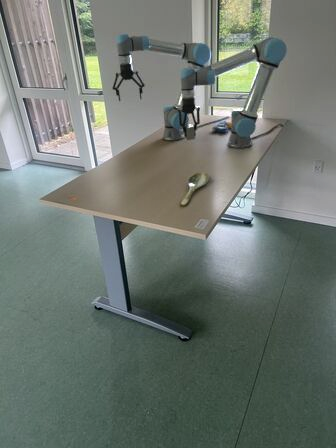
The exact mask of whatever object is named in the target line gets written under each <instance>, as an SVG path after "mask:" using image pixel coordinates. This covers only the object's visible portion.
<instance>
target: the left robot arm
mask: <svg viewBox="0 0 336 448" xmlns="http://www.w3.org/2000/svg"><path fill="white" fill-rule="evenodd" d="M115 40H116V48H117V55H118V56H117V57H118V63H119V70H120V71H119V72H115V79H114V82H113V85H112V90H115V94H116V97H117V96H118V101H119V102H121V93H120V90H119V88H120V87H121V85H122V83H123V82H124V81H131V80H132V81H133V83H135V84H136V86H138V87H139V88H138V91H139V98H140V99H139V100H142V94H143V93H144V92H143V88H145V87H146V84H145V83H144V81H143V79H142V77H141V76H140V74H139V71H138V70H136V71H134V69H133V63H132V61H133V60H132V54H131V52H146V53H152V54H158V55H164V56H170V57H171V56H172V57H178V58H179V59H180V60H185V61H187V62H186V64H187V68H193V69H194V72H198V70H199V69H200V68H202V67H206V64H208V63H209V62H210V61H211V58H212V51H211V48H210V46H208V45H207V44H206V43H202V42H181V43H177V42H172V41H165V40H160V39H154V38H149V36H148V35H140V36H139V35H138V36H136V35H132V36H129V33H121V34H117V35H116V36H115ZM134 75H135V76H136V77H137V79H138V80H139V81H138V80H137V79H136V78H135V77H134ZM119 77H121V79H120V80H119V81H118V79H119ZM117 82H118V84H117ZM116 85H117V86H116ZM196 87H197V86H194V91H195V90H196ZM182 98H183V97H182V88H180V91H179V94H178V97H177V101H176V104H174V105H166V106H164V107H163V108H162V109H163V111H162V112H163V121H164V130H163V135H162V139H163V140H164V141H167V142H176V141H180V140H182V139H184V137H185V132H183V126H180V124H179V112H178V109H180V108H182ZM184 113H185V112H184V111H183V110H182V112H181V119H182V124H183V119H184ZM189 116H190V113H189V114H187V117H186V122H185V125H189V123H190V118H189ZM229 118H230V116H226V117H223V118H220V119H217V120H213V121H210V122H206V123H203V124H199V125H197V129H198V128H200V127H203V126H207V125H209V124H213V123H218V122H219V121H224V120H225V119H229Z"/></svg>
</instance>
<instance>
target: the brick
mask: <svg viewBox="0 0 336 448" xmlns="http://www.w3.org/2000/svg"><path fill="white" fill-rule="evenodd" d="M194 125H195V124H194V123H190V124H189V123H188V125H185V126H186V137H185V138H186V141H191V140H192V141H193V140H195V139H196V138H195V137H196V131H195V132H194Z"/></svg>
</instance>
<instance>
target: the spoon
mask: <svg viewBox="0 0 336 448" xmlns="http://www.w3.org/2000/svg"><path fill="white" fill-rule="evenodd" d="M209 180H210V176H209V174H208V173H206V172H203V171H200V172H199V171H198V172H195V173H194V174H192V175H191V176H189V178H188V180H187V185H188V187H189V188H188V189H189V190H188V192H187V193H186V195H185V196H184V197H183V198H182V200H181V202H180V206H183V207H185V206H187V205H188V203H189V201H190V199H191V197H192V195H193V193H194V191H196V190H197V189H199V188H201V187H203V186H205V185H206V184H207V183H208V182H209Z"/></svg>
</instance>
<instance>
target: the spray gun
mask: <svg viewBox="0 0 336 448" xmlns="http://www.w3.org/2000/svg"><path fill="white" fill-rule="evenodd" d="M230 129H231V122H230V121H228V122H227V121H226V120H220V121H218V122H216V124H215V125H214V126H213V127H212V130H211V131H213V132H214V133H216V132H217V133H228V132H229V130H230Z"/></svg>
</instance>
